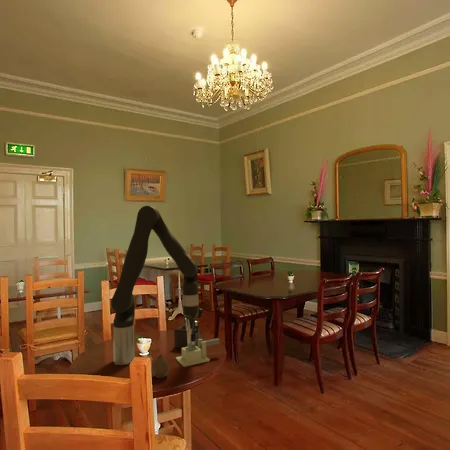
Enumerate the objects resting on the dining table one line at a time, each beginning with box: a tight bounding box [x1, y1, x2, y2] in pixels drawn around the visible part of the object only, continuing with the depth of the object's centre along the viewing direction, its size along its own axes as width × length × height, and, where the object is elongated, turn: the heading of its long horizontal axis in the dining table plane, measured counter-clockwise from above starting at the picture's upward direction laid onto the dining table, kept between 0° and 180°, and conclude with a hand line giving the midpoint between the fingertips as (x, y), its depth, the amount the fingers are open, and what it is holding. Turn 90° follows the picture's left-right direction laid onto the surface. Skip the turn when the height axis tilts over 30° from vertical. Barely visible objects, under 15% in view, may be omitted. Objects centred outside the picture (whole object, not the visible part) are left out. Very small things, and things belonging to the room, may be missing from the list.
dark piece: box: [173, 308, 205, 350], centre depth 192 cm, size 16×11×18 cm
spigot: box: [187, 325, 196, 348], centre depth 169 cm, size 4×4×10 cm
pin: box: [199, 338, 220, 347], centre depth 174 cm, size 10×2×2 cm, turn 118°
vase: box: [151, 354, 170, 379], centre depth 153 cm, size 7×7×9 cm
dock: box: [175, 338, 211, 368], centre depth 170 cm, size 13×10×8 cm
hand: (191, 339), depth 169 cm, fingers closed on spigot, 4 cm apart
